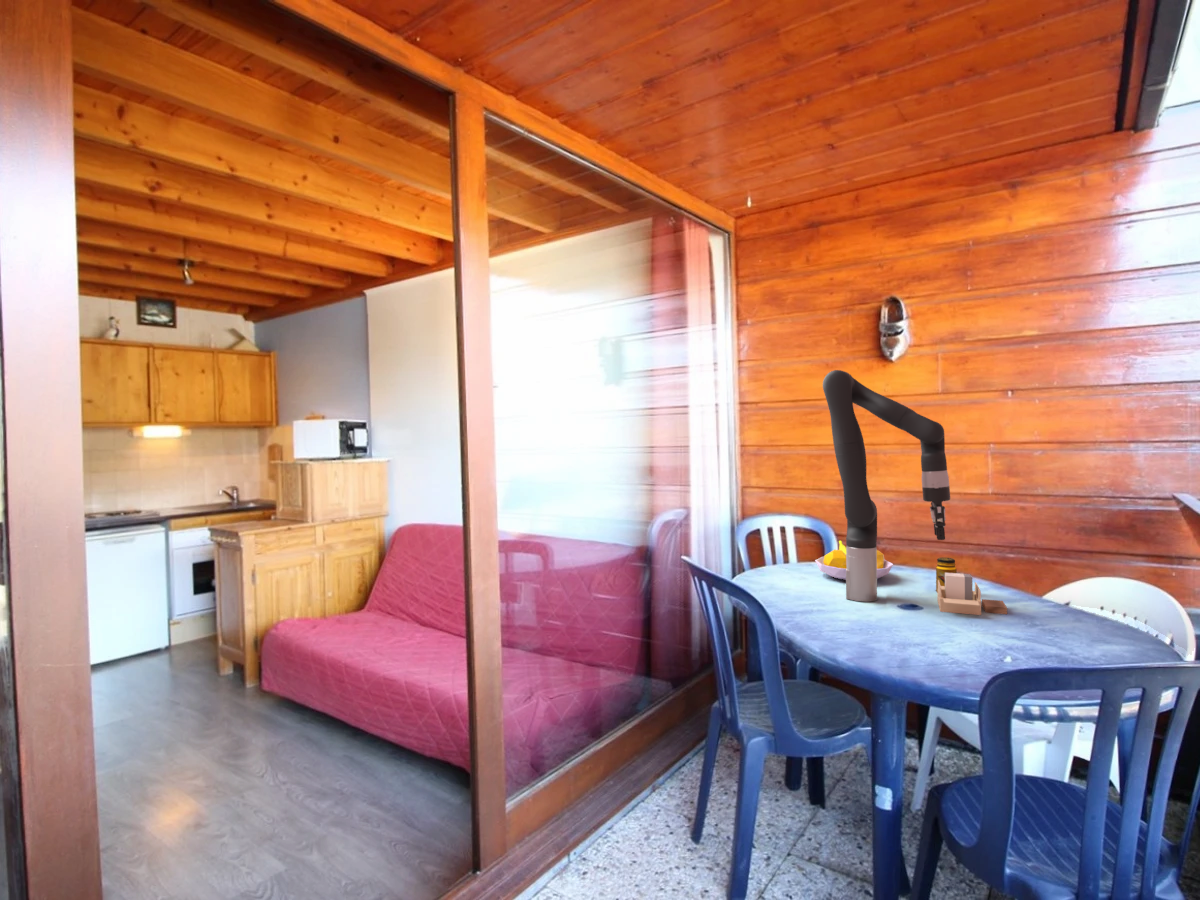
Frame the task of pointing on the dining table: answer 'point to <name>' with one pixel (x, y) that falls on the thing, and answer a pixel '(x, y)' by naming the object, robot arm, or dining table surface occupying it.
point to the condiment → (944, 569)
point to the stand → (994, 606)
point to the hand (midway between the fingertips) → (939, 537)
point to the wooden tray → (959, 602)
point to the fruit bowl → (837, 563)
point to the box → (958, 586)
